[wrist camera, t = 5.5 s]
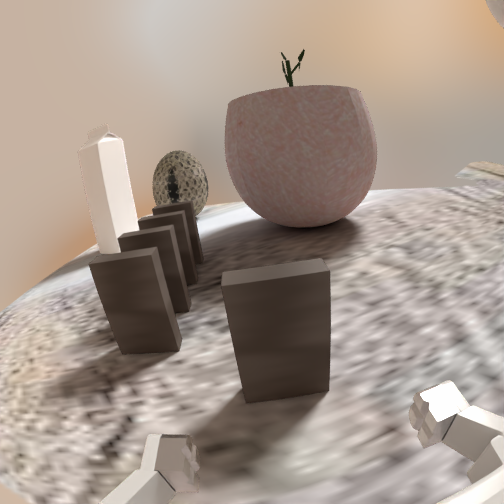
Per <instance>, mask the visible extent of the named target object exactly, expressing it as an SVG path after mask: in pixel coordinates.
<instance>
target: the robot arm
mask: <svg viewBox="0 0 504 504" xmlns="http://www.w3.org/2000/svg"><path fill="white" fill-rule="evenodd" d="M486 3H487V5H488V7H489V9H490V11H491V13H492V15H493V16H494V17H495V19H496V20H497V22H499V24H500V25H501V26H502V27H503V28H504V0H486ZM413 400H414V403H413V404H412V406H411V407H410V410H409V419H410V423H411V425H412V427H413V428H414V429H416V430H418V431H419V432H418V436H417V437H418V439H419V440H420V442H421V444H422V446H423V448H427V447H429V446H432V445H434V444H436V443H439V442H441V441H442V443H444V444H446V445H447V446H449V447H450V448H452V449H454V450H455V451H457V452H458V453H460V454H462V455H463V456H465V457H467V458H468V459H470V460H472V461H473V462H475V463H474V464H473V465H472V466H471V467H470V469H469V470H468V472H467V475H468V477H469V479H470V481H471V483H472V485H470V486H468V487H467V488H465V489H463V490H461V491H459V492H458V493H456V494H454V495H452V496H450V497H448V498H446V499H444V500H442V501H440V502H438V503H436V504H504V418H503V417H501V416H498V415H496V414H493V413H491V412H488V411H486V410H483V409H481V408H478V407H476V406H471V407H470V405H469V404H468V403H467V401H466V400H465V398H464V397H463V396H462V394H461V393H460V392H459V390H458V389H457V388H456V386H455V385H454V384H453V382H452V381H450V380H448V381H445V382H443V383H440V384H438V385H435V386H432V387H430V388H427V389H424V390H422V391H419V392H417V393H416V394H415V395H414V397H413ZM199 469H200V454H199V451H198V448H197V446H195V445H194V444H193V439H192V437H191V435H164V434H149V435H148V437H147V439H146V443H145V448H144V452H143V456H142V461H141V465H140V470H137V469H136V470H135V471H134V472H133V473H132V474H131V475H129V476H128V477H127V478H126V479H125V480H124V481H123V482H122V483H121V484H120V485H119V486H117V487H116V488H115V489H114V490H113V491H112V492H111V493H110V494H109V495H107V496H106V497H105V498H104V499H103V500H102V501H101V502H99V503H98V504H168V503H169V502H170V501H171V500H172V498H173V497H174V496H175V494H176V492H198V490H199V477H198V475H197V473H196V472H197V471H198V470H199Z"/></svg>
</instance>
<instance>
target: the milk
mask: <svg viewBox="0 0 504 504" xmlns="http://www.w3.org/2000/svg"><path fill="white" fill-rule="evenodd" d="M88 138H89V140H88V141H87V142H86V143H85V144H84V145H83V146H82V147H81V148H80V149H79V150H78V156H79V162H80V168H81V173H82V178H83V184H84V188H85V194H86V198H87V203H88V207H89V211H90V216H91V220H92V224H93V228H94V232H95V235H96V239H97V243H98V247H99V250H100V253H101V254H114V253H120V252H121V251H120V247H119V243H118V239H117V238H118V237H120V236H121V235H122V234H123V233H127V232H133V231H139V226H138V222H137V221H138V218H137V214H136V209H135V205H134V200H133V195H132V189H131V185H130V179H129V174H128V169H127V162H126V157H125V150H124V145H123V139H121V138H120V137H118V136H116V135H115V134H113V133H111V132H109V126H108V124H104V125H102V126H100V127H97V128H95V129H93V130H91V131H89V132H88Z"/></svg>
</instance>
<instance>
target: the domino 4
mask: <svg viewBox="0 0 504 504" xmlns="http://www.w3.org/2000/svg"><path fill="white" fill-rule="evenodd" d="M89 267H90V270H91V273H92V276H93V279H94V282H95V285H96V288H97V291H98V294H99V297H100V300H101V302H102V305H103V308H104V310H105V313H106V316H107V318H108V321H109V323H110V326H111V328H112V331H113V333H114V336H115V338H116V341H117V343H118V345H119V348H120V350H121V352H122V354H140V353H159V352H174V351H179V350H180V346H181V342H182V337H181V333H180V330H179V327H178V323H177V320H176V317H175V313H174V310H173V306H172V303H171V299H170V295H169V292H168V288H167V284H166V281H165V277H164V273H163V269H162V265H161V261H160V257H159V253H158V249H157V247H152V248H146V249H139V250H133V251H127V252H120V253H114V254H108V255H102V256H97V257H96V258H95V259H94V260H93V261H92V262H91V263H89Z"/></svg>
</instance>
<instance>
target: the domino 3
mask: <svg viewBox="0 0 504 504" xmlns="http://www.w3.org/2000/svg"><path fill="white" fill-rule="evenodd" d="M117 239H118V243H119V247H120V251H121V252H127V251H133V250H139V249H146V248H152V247H157V249H158V253H159V257H160V261H161V265H162V269H163V273H164V277H165V281H166V284H167V288H168V292H169V295H170V299H171V303H172V306H173V310H174V313H180V312H189V310H190V307H191V300H190V296H189V292H188V287H187V283H186V279H185V275H184V271H183V266H182V262H181V258H180V253H179V249H178V244H177V239H176V235H175V230H174V225H168V226H162V227H156V228H150V229H144V230H139V231H133V232H127V233H123V234H122V235H121V236H120V237H118V238H117Z"/></svg>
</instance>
